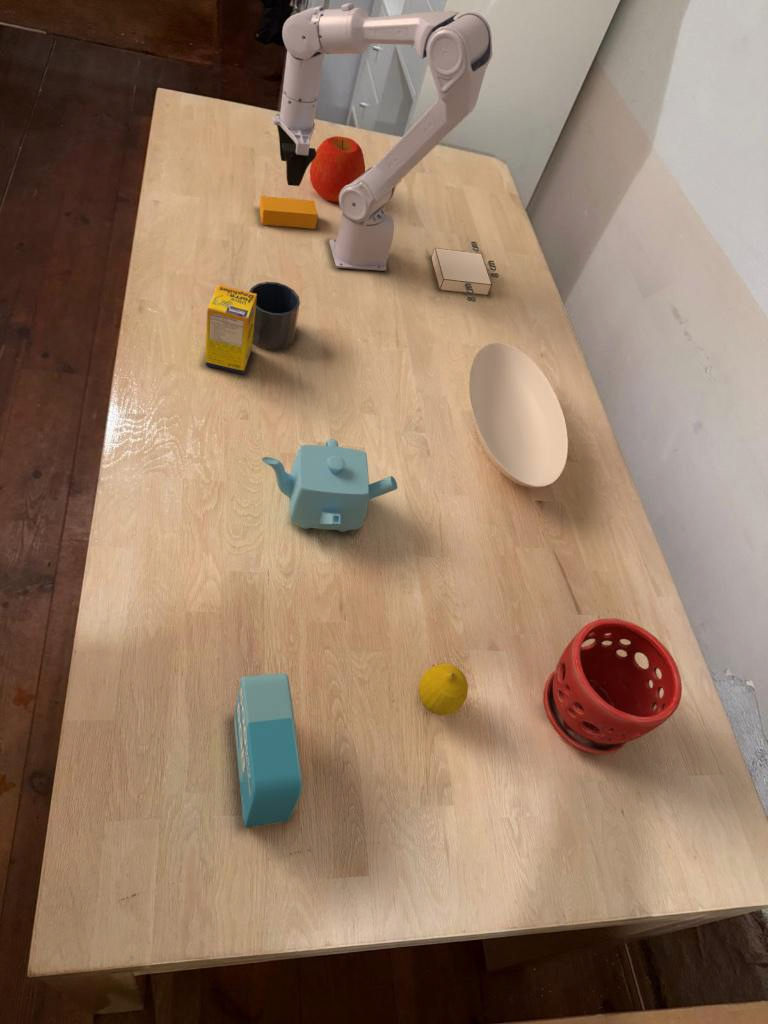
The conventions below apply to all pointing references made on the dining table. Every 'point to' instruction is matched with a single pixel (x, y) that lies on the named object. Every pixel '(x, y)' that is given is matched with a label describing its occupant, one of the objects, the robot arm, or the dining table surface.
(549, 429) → the bowl
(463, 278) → the container
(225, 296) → the supplement box
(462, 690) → the fruit
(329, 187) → the apple
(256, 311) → the cup
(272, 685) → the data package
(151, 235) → the dining table surface
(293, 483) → the teapot
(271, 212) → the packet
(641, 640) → the flower pot
